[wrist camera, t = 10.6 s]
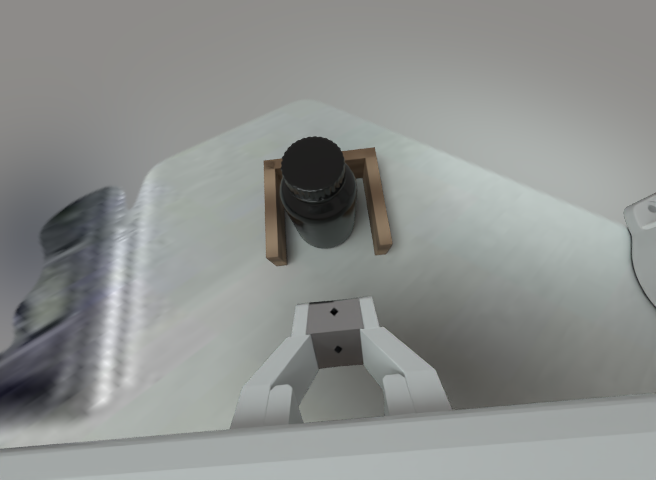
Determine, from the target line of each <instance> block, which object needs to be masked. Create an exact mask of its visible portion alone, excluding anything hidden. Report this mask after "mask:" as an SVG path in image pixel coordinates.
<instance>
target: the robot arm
mask: <svg viewBox="0 0 656 480" xmlns="http://www.w3.org/2000/svg"><path fill="white" fill-rule="evenodd" d="M624 218H625V221H626V224H627V226H628V228H629V230H630V233H631V235H632V259H633V265H634V269H635V273H636V275H637V278H638V280H639V282H640V284H641V286H642V288H643V290H644V292H645V293H646V295H647V296H648V298H649V299H650V300H651V302H652V303H653V304H654V305H655V307H656V193H654V194H652V195H650V196H648V197H646V198H644V199H642V200H640V201H638V202H636V203H634V204H632V205H630V206H628V207H626V208H625V210H624ZM350 365H364V367H365V368H366V369H367V370H368V372H369V373H370V374H371V375H372V377H373V378H374V379H375V381H376V382H377V383H378V384H379V386H380V387H381V388H382V389H383V398H384V416H379V417H368V418H356V419H345V420H333V421H321V422H309V423H303V419H302V416H301V413H300V410H299V407H298V406H299V405H300V403H301V401H302V399H303V397H304V396H305V394H306V392H307V390H308V389H309V387H310V385H311V383H312V381H313V380H314V378H315V376H316V374H317V373H318V371H319V369H322V368H330V367H338V366H350ZM0 480H656V393H647V394H635V395H624V396H612V397H600V398H589V399H577V400H565V401H554V402H542V403H530V404H519V405H507V406H495V407H483V408H472V409H460V410H452V408H451V406H450V403H449V401H448V399H447V396H446V394H445V391H444V389H443V387H442V384H441V382H440V380H439V377H438V375H437V372H436V370H435V369H434V368H433V367H431V366H430V365H429V364H428V363H427V362H425V361H424V360H423V359H422V358H421V357H419V356H418V355H417V354H416V353H415V352H413V351H412V350H411V349H410V348H409V347H407V346H406V345H405V344H404V343H403V342H401V341H400V340H399V339H398V338H397V337H395V336H394V335H393V334H392V333H391V332H389V331H388V330H387V329H386V328H385V327H380V326H379V322H378V318H377V314H376V310H375V306H374V302H373V298H372V296H365V297H359V298H351V299H343V300H334V301H323V302H311V303H303V304H297V305H296V308H295V314H294V321H293V327H292V334H291V337H287V338H286V339H285V340H284V341H283V342H282V343H281V345H280V346H279V347H278V348H277V349H276V350H275V351H274V352H273V354H272V355H271V356H270V357H269V358H268V359H267V360H266V361H265V363H264V364H263V365H262V366H261V367H260V368H259V369H258V370H257V371H256V373H255V374H254V375H253V376H252V377H251V378H250V379H249V380H248V382H247V383H246V384H245V385H244V386H243V387H242V390H241V393H240V397H239V400H238V403H237V407H236V410H235V413H234V417H233V420H232V423H231V427H230V429H228V430H216V431H204V432H193V433H181V434H169V435H157V436H146V437H134V438H122V439H111V440H99V441H87V442H75V443H64V444H52V445H40V446H28V447H17V448H5V449H0Z"/></svg>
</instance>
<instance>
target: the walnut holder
mask: <svg viewBox="0 0 656 480" xmlns="http://www.w3.org/2000/svg"><path fill="white" fill-rule="evenodd" d="M341 152H342V153H343V157H344V159H345V163H346V164H347V165H348V166H349V167H350V168H351V170H352V171H353V173H354V176H355V178H363V183H364V189H365V196H366V202H367V208H368V214H369V220H370V227H371V233H372V239H373V245H374V251H375V255H382V254H386V253H387V252H388V250H389V249H390V247H391V246H392V238H391V233H390V227H389V222H388V217H387V211H386V206H385V201H384V195H383V190H382V184H381V179H380V174H379V168H378V163H377V158H376V152H375V147H374V148H366V149H357V150H349V151H341ZM281 162H282V159H274V160H265V161H264V190H265V232H266V258H267V259H268V260H269V261H271V262H272V263H273V264H274V265H276V266H282V265H287V257H286V237H285V217H284V206H283V204H282V201H281V198H280V184H281V180H282V177H283V176H282V171H281Z"/></svg>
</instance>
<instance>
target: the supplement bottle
mask: <svg viewBox="0 0 656 480" xmlns="http://www.w3.org/2000/svg"><path fill="white" fill-rule="evenodd" d="M281 171H282V176H283V177H282V180H281V184H280V198H281V201H282V204H283V206H284V208H285V210H286V212H287V213H288V215H289V217H290V219H291V220H292V222H293V224H294V226H295V227H296V229H297V231H298V232H299V234H300V236H301V237H302V238H303V239H304V240H305V241H306V242H307V243H309V244H310V245H312V246H314V247H318V248H331V247H335V246H337V245H339V244H341V243H343V242H344V241H345V240H346V239H347V238H348V237H349V235H350V234H351V232H352V230H353V227H354V221H355V210H356V197H357V183H356V178H355V176H354V173H353V171H352V170H351V168H350V167H349V166H348V165H347V164H346V163H345V159H344V157H343V153H342V152H341V150H340V148H339V147H338V146H337V144H335V143H333V142H332V141H331V140H328V139H327V138H322V137H316V136H314V137H307V138H303V139H301V140H298V141H296V142H295V143H293V144H292V145H291V146H290V147H289V148H288V149H287V151H286V152H285V153H284V156H283V157H282V162H281Z"/></svg>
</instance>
